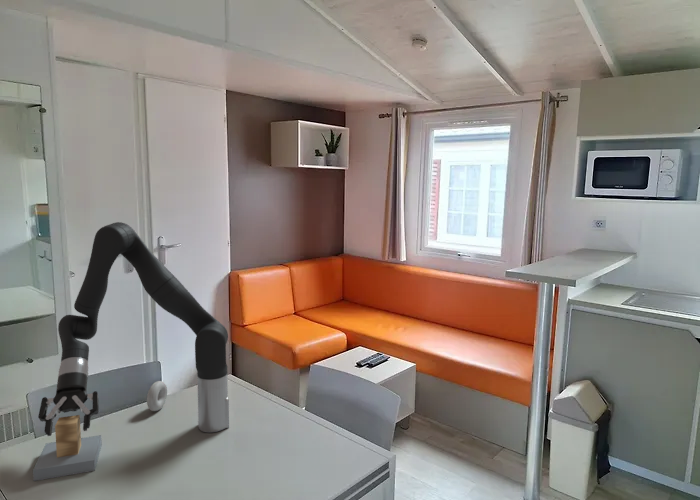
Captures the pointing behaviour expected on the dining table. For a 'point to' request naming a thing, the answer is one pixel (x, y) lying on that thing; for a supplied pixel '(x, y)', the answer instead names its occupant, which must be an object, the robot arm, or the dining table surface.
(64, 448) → the block
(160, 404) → the donut
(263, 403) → the dining table surface
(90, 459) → the plinth
